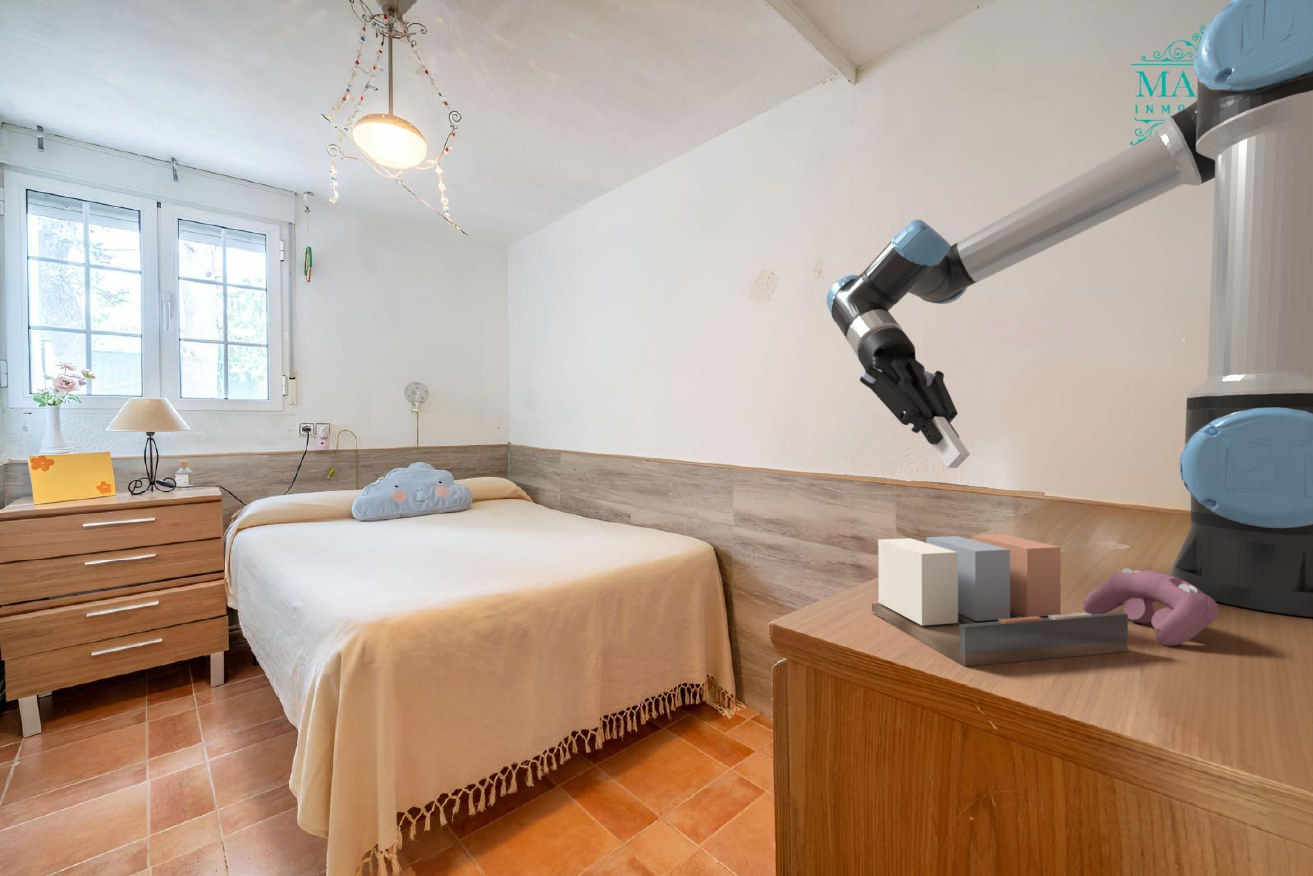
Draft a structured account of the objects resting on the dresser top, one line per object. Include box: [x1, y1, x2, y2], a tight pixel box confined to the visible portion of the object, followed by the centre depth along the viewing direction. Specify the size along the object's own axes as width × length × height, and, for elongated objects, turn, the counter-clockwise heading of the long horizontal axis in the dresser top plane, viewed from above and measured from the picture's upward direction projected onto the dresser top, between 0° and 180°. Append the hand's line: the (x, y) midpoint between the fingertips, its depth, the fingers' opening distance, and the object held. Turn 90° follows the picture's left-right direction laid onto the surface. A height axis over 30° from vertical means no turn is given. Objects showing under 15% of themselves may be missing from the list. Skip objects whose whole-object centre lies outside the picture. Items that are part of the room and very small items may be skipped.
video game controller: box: [1082, 567, 1219, 647], centre depth 52 cm, size 10×5×7 cm, turn 179°
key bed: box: [871, 602, 1129, 667], centre depth 51 cm, size 14×17×4 cm
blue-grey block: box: [925, 535, 1010, 621], centre depth 54 cm, size 7×4×7 cm, turn 10°
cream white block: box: [877, 537, 958, 626], centre depth 53 cm, size 7×4×7 cm, turn 10°
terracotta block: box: [972, 533, 1062, 617], centre depth 55 cm, size 7×4×7 cm, turn 10°
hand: (958, 460), depth 63 cm, fingers closed
